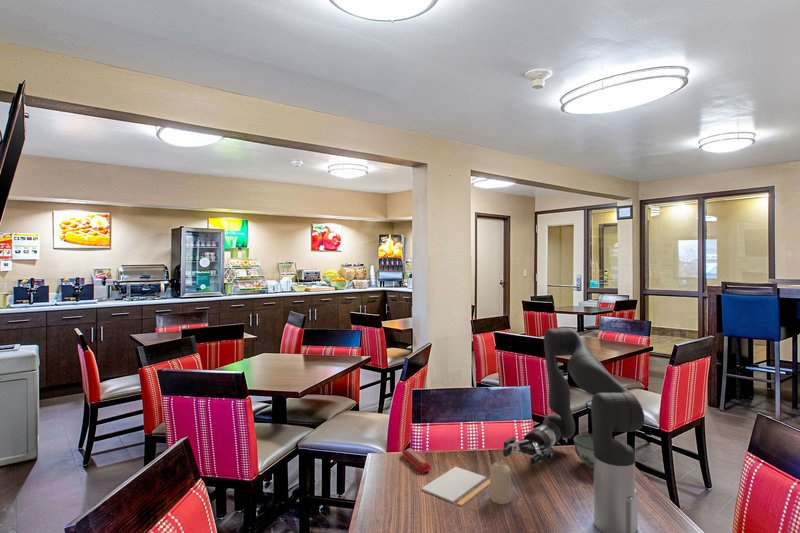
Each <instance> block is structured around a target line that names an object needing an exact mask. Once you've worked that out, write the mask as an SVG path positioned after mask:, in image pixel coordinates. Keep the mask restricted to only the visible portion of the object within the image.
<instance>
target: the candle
mask: <svg viewBox="0 0 800 533" xmlns="http://www.w3.org/2000/svg"><path fill="white" fill-rule="evenodd" d="M489 475H490V476H489V479H490V485H489V488H490V489H489V490H490V491H489V493H490V494H489V496H490V497H489V498H490V500H491V501H492V502H493V503H495V504H498V505H507V504H509V503H510V502H511V484H512V483H511V468H510V467H509V466H508V465H507V464H506V463H505V462H503V461H496V462H494V463H493V464H492V465H490V467H489Z"/></svg>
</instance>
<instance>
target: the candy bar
mask: <svg viewBox="0 0 800 533" xmlns="http://www.w3.org/2000/svg"><path fill="white" fill-rule="evenodd" d="M402 455H403V457H404V458H405V459H406V461H408V462H409V463H410V465H412V466H413V467H414V468H415V469H416V470H418V471H419V473H421V474H425V473H427V472H429V471H431V470H432V468H431V466H430V463H429V462H428V461H427V459H425V458H423V457H422V456H421V454H419V453H418V452H416V451H415V450H414V449H413V448H412V447H408V448H407V449H404V450H403V451H402Z"/></svg>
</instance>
